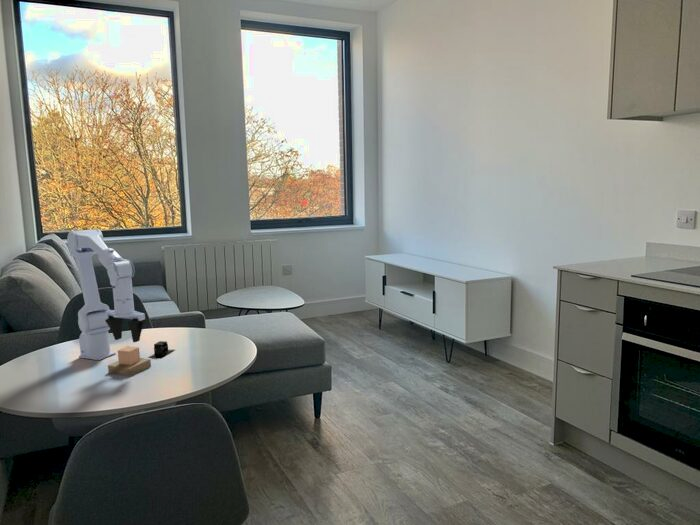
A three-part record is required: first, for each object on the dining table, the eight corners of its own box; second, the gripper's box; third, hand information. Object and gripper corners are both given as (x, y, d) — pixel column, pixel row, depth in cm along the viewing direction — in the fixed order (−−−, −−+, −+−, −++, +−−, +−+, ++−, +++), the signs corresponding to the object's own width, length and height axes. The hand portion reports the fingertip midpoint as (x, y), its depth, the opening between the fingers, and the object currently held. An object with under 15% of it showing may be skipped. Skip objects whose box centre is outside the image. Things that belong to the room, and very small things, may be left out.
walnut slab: (108, 374, 172) (107, 365, 171) (130, 365, 180) (129, 356, 179) (130, 377, 168) (129, 368, 168) (151, 368, 176) (150, 359, 176)
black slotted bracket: (161, 361, 182) (160, 348, 182) (141, 360, 184) (140, 347, 183) (179, 350, 194) (178, 337, 194) (161, 349, 196) (160, 337, 195)
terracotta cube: (118, 363, 172) (117, 350, 171) (128, 359, 176) (127, 346, 175) (130, 365, 170) (129, 351, 170) (140, 360, 175) (139, 347, 174)
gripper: (96, 299, 169) (100, 341, 171) (131, 303, 164) (135, 346, 166) (113, 295, 176) (117, 335, 178) (148, 298, 170) (151, 339, 172)
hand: (127, 340), depth 172 cm, fingers open, 7 cm apart
